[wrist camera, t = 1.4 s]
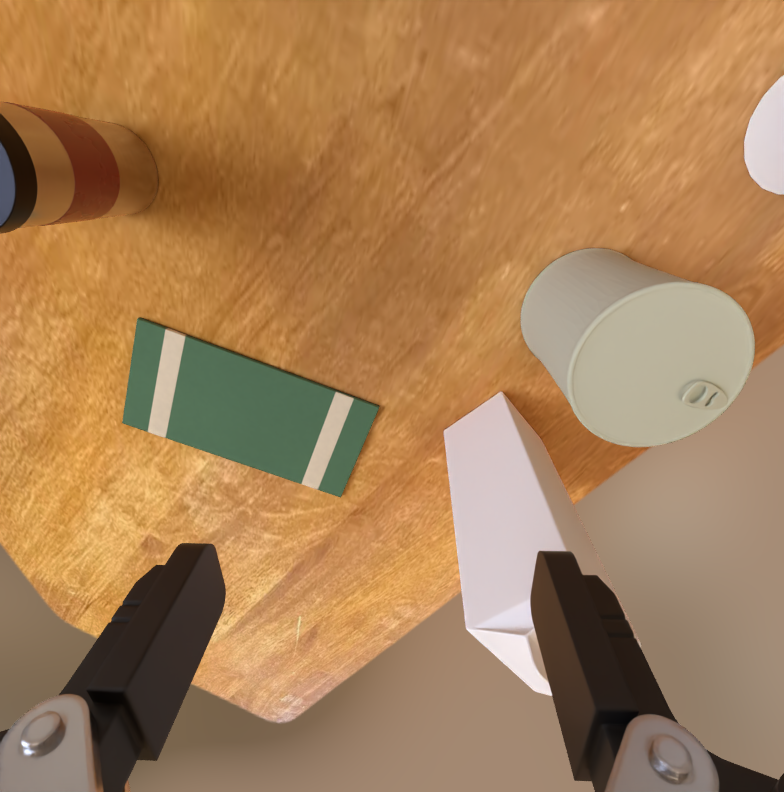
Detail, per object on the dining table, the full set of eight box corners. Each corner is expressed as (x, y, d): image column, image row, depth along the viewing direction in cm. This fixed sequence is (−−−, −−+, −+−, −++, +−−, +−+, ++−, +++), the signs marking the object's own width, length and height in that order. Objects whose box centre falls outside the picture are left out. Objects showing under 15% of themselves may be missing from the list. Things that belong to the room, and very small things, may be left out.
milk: (501, 389, 36) (606, 636, 17) (542, 439, 38) (683, 718, 18) (441, 431, 38) (471, 698, 18) (483, 477, 40) (552, 766, 20)
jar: (55, 141, 30) (-160, 117, 19) (128, 104, 29) (-53, 56, 18) (107, 229, 32) (-56, 255, 21) (177, 198, 31) (44, 208, 20)
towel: (139, 317, 35) (136, 318, 35) (379, 405, 38) (379, 408, 37) (124, 421, 39) (121, 423, 39) (341, 494, 42) (340, 497, 41)
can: (598, 388, 36) (677, 477, 25) (497, 340, 35) (534, 413, 24) (676, 282, 32) (808, 333, 21) (565, 224, 31) (646, 248, 20)
